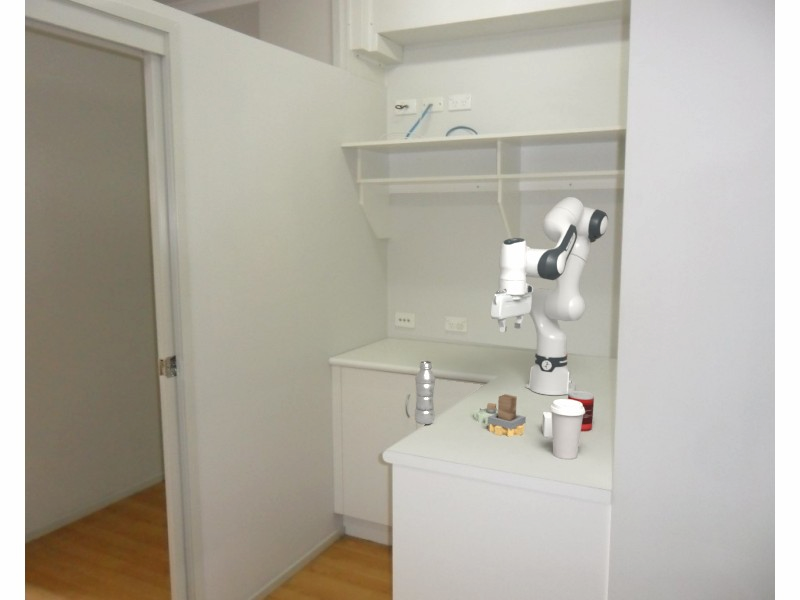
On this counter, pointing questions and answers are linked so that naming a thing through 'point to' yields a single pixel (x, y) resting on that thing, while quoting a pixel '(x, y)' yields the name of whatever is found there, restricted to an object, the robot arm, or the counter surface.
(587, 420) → the canned food
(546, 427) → the white cube
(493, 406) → the gear
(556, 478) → the counter surface
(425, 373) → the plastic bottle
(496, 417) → the frame
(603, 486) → the counter surface
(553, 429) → the coffee cup
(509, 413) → the peg
